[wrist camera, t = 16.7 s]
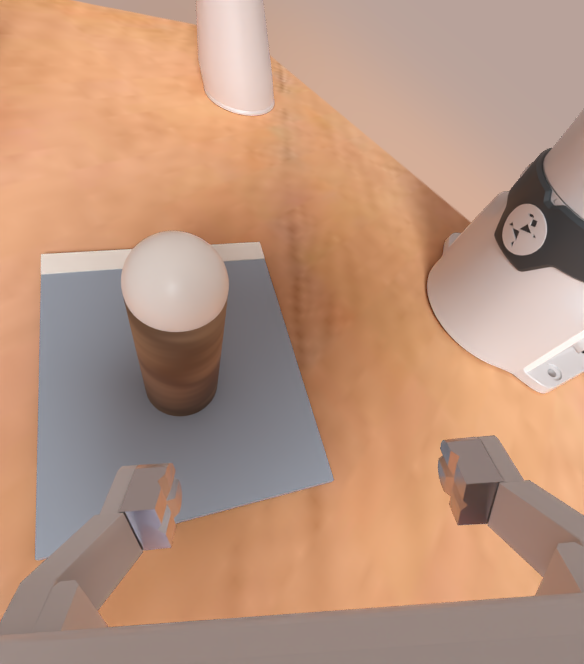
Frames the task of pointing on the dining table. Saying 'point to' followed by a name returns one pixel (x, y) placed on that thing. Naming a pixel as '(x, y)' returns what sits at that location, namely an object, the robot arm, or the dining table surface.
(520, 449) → the dining table surface
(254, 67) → the spray can
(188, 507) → the mat
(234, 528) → the dining table surface
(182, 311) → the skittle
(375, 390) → the dining table surface
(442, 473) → the robot arm
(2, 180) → the dining table surface
